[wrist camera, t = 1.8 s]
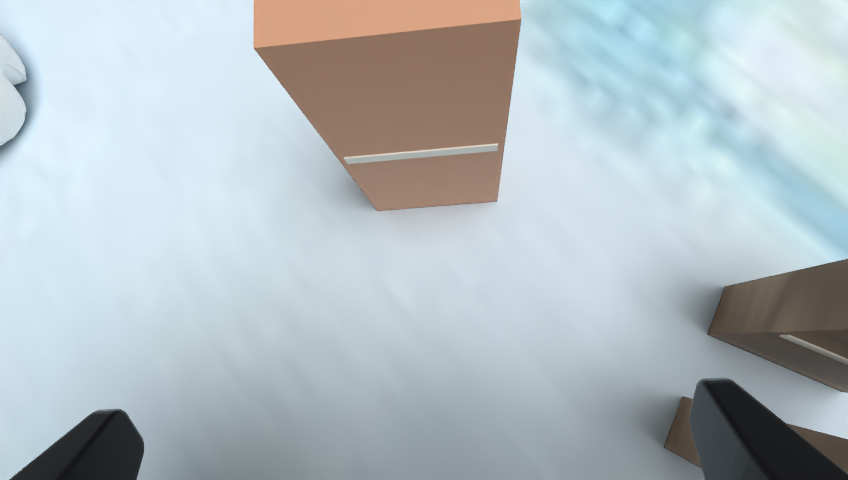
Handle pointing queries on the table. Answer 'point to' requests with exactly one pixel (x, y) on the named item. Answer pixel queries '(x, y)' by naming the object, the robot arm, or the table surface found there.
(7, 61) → the water bottle
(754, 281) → the tile
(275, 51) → the end tile
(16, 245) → the table surface
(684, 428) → the tile
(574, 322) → the table surface
